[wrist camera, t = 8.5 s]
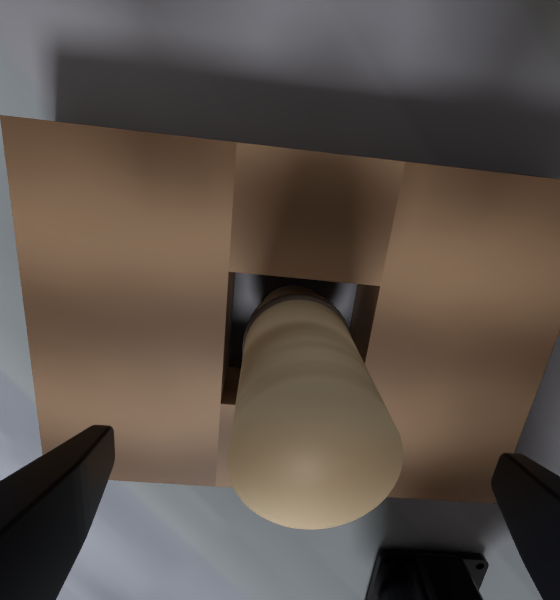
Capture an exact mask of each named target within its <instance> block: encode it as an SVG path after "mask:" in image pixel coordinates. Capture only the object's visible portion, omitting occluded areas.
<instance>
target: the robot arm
mask: <svg viewBox="0 0 560 600" xmlns="http://www.w3.org/2000/svg"><path fill="white" fill-rule="evenodd" d="M114 462H115V440H114V429H113V427H112V426H110V425H92V426H90V427H88V428H87V429H85V430H83V431H82V432H80V433H78V434H77V435H75V436H74V437H72V438H70V439H69V440H67V441H65V442H64V443H62V444H60V445H59V446H57V447H55V448H54V449H52V450H51V451H49V452H47V453H46V454H44V455H42V456H41V457H39V458H37V459H36V460H34V461H32V462H31V463H29V464H28V465H26V466H24V467H23V468H21V469H19V470H18V471H16V472H14V473H13V474H11V475H9V476H8V477H6V478H5V479H3V480H1V481H0V600H56V598H57V596H58V594H59V592H60V590H61V588H62V586H63V584H64V582H65V580H66V578H67V576H68V574H69V572H70V570H71V568H72V566H73V564H74V562H75V560H76V558H77V556H78V554H79V552H80V550H81V548H82V546H83V543H84V541H85V539H86V537H87V534H88V532H89V529H90V527H91V524H92V522H93V519H94V516H95V514H96V511H97V509H98V506H99V503H100V501H101V498H102V495H103V493H104V490H105V487H106V485H107V482H108V479H109V477H110V474H111V471H112V469H113V466H114ZM491 488H492V491H493V494H494V496H495V498H496V501H497V503H498V505H499V508H500V510H501V512H502V515H503V517H504V519H505V522H506V524H507V526H508V529H509V531H510V533H511V536H512V538H513V540H514V543H515V545H516V547H517V550H518V552H519V554H520V556H521V558H522V560H523V562H524V564H525V566H526V568H527V570H528V572H529V574H530V576H531V578H532V580H533V582H534V584H535V586H536V587H537V589H538V591H539V593H540V595H541V597H542V599H543V600H560V477H559V476H558V475H556V474H554V473H553V472H551V471H549V470H548V469H546V468H544V467H543V466H541V465H539V464H538V463H536V462H534V461H532V460H531V459H529V458H527V457H526V456H524V455H522V454H518V453H502V454H501V455H500V457H499V459H498V462H497V464H496V467H495V470H494V472H493V475H492V478H491ZM487 569H488V562H487V561H486V559H485V557H484V555H482V554H478V553H460V552H441V551H422V550H404V549H384V550H381V551H380V552H379V554H378V557H377V561H376V565H375V569H374V572H373V576H372V580H371V584H370V588H369V592H368V595H367V599H366V600H483V598H482V596H481V594H480V592H479V589H480V586H481V584H482V581H483V579H484V576H485V574H486V571H487Z"/></svg>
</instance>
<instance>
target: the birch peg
mask: <svg viewBox="0 0 560 600" xmlns="http://www.w3.org/2000/svg"><path fill="white" fill-rule="evenodd" d="M242 352H243V359H242V365H241V372H240V378H239V385H238V391H237V398H236V404H235V411H234V417H233V424H232V430H231V437H230V443H229V450H228V456H227V468H228V474H229V478H230V481H231V484H232V486H233V488H234V490H235V492H236V494H237V495H238V496H239V498H240V499H241V500H242V501H243V502H244V504H245V505H246V506H247V507H248V508H250V509H251V510H252V511H254V512H255V513H256V514H258V515H259V516H261V517H263V518H264V519H266V520H269V521H271V522H273V523H276V524H279V525H282V526H286V527H291V528H297V529H325V528H330V527H336V526H339V525H343V524H346V523H349V522H351V521H354V520H356V519H358V518H360V517H362V516H364V515H365V514H367V513H368V512H370V511H371V510H373V509H374V508H375V507H377V506H378V505H379V504H380V503H381V502H382V501H383V500H384V499H385V498H386V497H387V496H388V495H389V493H390V492H391V490H392V489H393V487H394V486H395V484H396V482H397V480H398V478H399V475H400V472H401V469H402V463H403V446H402V440H401V437H400V434H399V431H398V429H397V428H396V426H395V424H394V422H393V420H392V418H391V416H390V414H389V412H388V410H387V408H386V406H385V404H384V402H383V400H382V398H381V396H380V394H379V392H378V390H377V388H376V386H375V384H374V382H373V380H372V378H371V376H370V374H369V372H368V370H367V368H366V366H365V364H364V362H363V360H362V358H361V356H360V354H359V352H358V350H357V348H356V346H355V344H354V342H353V340H352V336H351V332H350V329H349V327H348V325H347V323H346V321H345V319H344V317H343V316H342V315H341V313H340V312H339V311H338V310H337V309H336V308H335V306H334V305H333V304H332V303H331V302H330V301H328V300H327V299H326V298H324V297H323V296H321V295H319V294H317V293H315V292H314V291H313V290H311V289H309V288H307V287H304V286H300V285H287V286H283V287H280V288H278V289H276V290H274V291H272V292H271V293H270V294H269V295H268V296H267V297H266V298H265V299H264V300H263V302H262V303H261V304H260V305H259V306H258V307H257V308H256V309H255V311H254V312H253V314H252V316H251V318H250V320H249V322H248V324H247V327H246V330H245V333H244V338H243V345H242Z"/></svg>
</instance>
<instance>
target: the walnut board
mask: <svg viewBox="0 0 560 600" xmlns="http://www.w3.org/2000/svg"><path fill="white" fill-rule="evenodd" d="M0 119H1V127H2V135H3V143H4V151H5V159H6V167H7V175H8V183H9V191H10V199H11V207H12V215H13V223H14V231H15V239H16V247H17V254H18V262H19V270H20V278H21V286H22V294H23V302H24V310H25V318H26V326H27V334H28V342H29V350H30V358H31V366H32V374H33V382H34V390H35V397H36V405H37V413H38V421H39V429H40V437H41V445H42V453H43V455H44V454H46V453H47V452H49V451H51V450H52V449H54V448H55V447H57V446H59V445H60V444H62V443H64V442H65V441H67V440H69V439H70V438H72V437H74V436H75V435H77V434H78V433H80V432H82V431H83V430H85V429H87V428H88V427H90V426H92V425H110V426H112V427H113V429H114V440H115V462H114V466H113V469H112V471H111V474H110V477H109V479H108V480H119V481H135V482H152V483H168V484H184V485H200V486H216V487H232V488H233V486H232V484H231V481H230V478H229V474H228V468H227V456H228V450H229V443H230V437H231V430H232V424H233V417H234V411H235V404H236V398H237V391H238V385H239V378H240V372H241V368H234V367H229V355H230V340H231V325H232V310H233V295H234V280H235V272H237V273H248V274H259V275H269V276H280V277H290V278H301V279H311V280H322V281H332V282H343V283H353V284H358V286H357V292H356V298H355V303H354V309H353V314H352V320H351V326H350V332H351V336H352V340H353V342H354V344H355V346H356V348H357V350H358V352H359V354H360V356H361V358H362V360H363V362H364V364H365V366H366V368H367V370H368V372H369V374H370V376H371V378H372V380H373V382H374V384H375V386H376V388H377V390H378V392H379V394H380V396H381V398H382V400H383V402H384V404H385V406H386V408H387V410H388V412H389V414H390V416H391V418H392V420H393V422H394V424H395V426H396V428H397V429H398V431H399V434H400V437H401V440H402V446H403V463H402V469H401V472H400V475H399V478H398V480H397V482H396V484H395V486H394V487H393V489H392V490H391V492H390V493H389V495H388V496H387V497H394V498H410V499H426V500H442V501H458V502H475V503H491V504H495V501H496V498H495V496H494V494H493V491H492V488H491V478H492V475H493V472H494V470H495V467H496V464H497V462H498V459H499V457H500V455H501V454H502V453H514V451H515V448H516V446H517V443H518V440H519V438H520V435H521V432H522V430H523V427H524V424H525V422H526V419H527V417H528V414H529V411H530V409H531V406H532V403H533V401H534V398H535V395H536V393H537V390H538V387H539V385H540V382H541V380H542V377H543V374H544V372H545V369H546V366H547V364H548V361H549V358H550V356H551V353H552V350H553V348H554V345H555V343H556V340H557V337H558V335H559V332H560V179H552V178H543V177H534V176H526V175H517V174H508V173H500V172H491V171H482V170H474V169H465V168H456V167H447V166H439V165H430V164H421V163H413V162H404V161H395V160H386V159H378V158H369V157H360V156H352V155H343V154H334V153H326V152H317V151H308V150H299V149H291V148H282V147H273V146H265V145H256V144H247V143H239V142H230V141H221V140H212V139H204V138H195V137H186V136H178V135H169V134H160V133H151V132H143V131H134V130H125V129H117V128H108V127H99V126H91V125H82V124H73V123H64V122H56V121H47V120H38V119H30V118H21V117H12V116H3V115H0Z"/></svg>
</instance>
